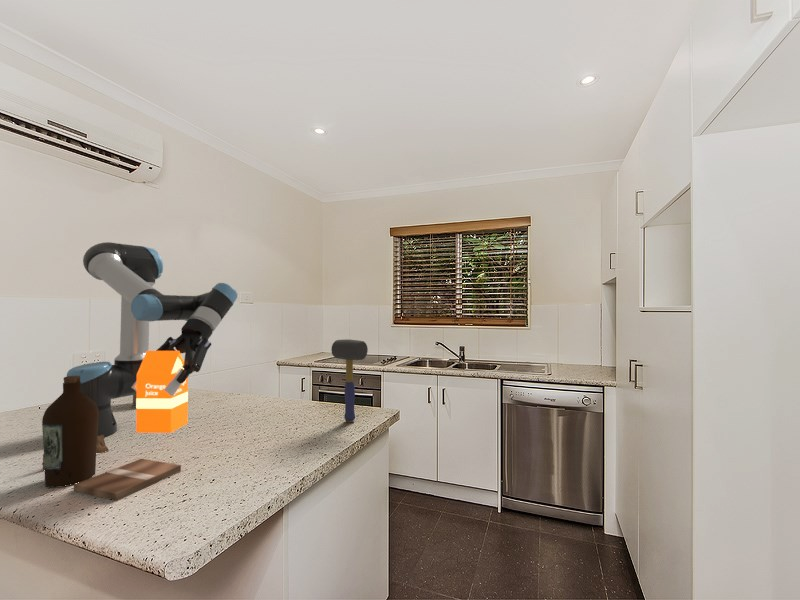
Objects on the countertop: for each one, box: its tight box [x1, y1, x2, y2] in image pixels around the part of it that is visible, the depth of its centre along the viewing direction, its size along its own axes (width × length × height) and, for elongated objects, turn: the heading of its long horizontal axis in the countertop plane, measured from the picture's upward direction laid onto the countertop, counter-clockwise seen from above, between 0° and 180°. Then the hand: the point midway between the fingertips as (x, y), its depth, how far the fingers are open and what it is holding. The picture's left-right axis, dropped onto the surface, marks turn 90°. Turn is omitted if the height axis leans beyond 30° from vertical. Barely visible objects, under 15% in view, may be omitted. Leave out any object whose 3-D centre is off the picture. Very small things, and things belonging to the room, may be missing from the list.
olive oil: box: [41, 376, 99, 488], centre depth 95 cm, size 11×11×25 cm
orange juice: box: [135, 350, 189, 434], centre depth 100 cm, size 8×9×20 cm
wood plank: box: [41, 434, 109, 472], centre depth 106 cm, size 15×2×5 cm, turn 162°
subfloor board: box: [73, 458, 182, 502], centre depth 93 cm, size 14×16×2 cm
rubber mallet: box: [331, 338, 369, 423], centre depth 141 cm, size 12×8×30 cm, turn 59°
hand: (151, 391), depth 97 cm, fingers closed on orange juice, 10 cm apart
